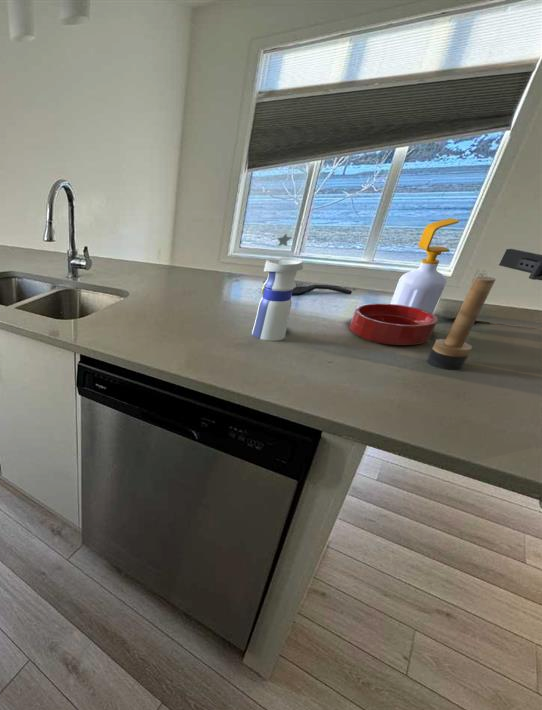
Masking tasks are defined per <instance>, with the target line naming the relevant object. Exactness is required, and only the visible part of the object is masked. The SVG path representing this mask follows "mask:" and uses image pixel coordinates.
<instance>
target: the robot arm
mask: <svg viewBox="0 0 542 710" xmlns="http://www.w3.org/2000/svg"><path fill="white" fill-rule="evenodd" d="M498 266H499V267H504V268H508V269H512V270H517V271H520V272H523V273H529V276H528V279H529V280H533V281H542V254H538V253H534V252H529V251H524V250H519V249H515V248H507V249H506V250H505V251H504V254H503V256H502V258H501V259H500V262H499V263H498Z"/></svg>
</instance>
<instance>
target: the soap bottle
mask: <svg viewBox="0 0 542 710" xmlns="http://www.w3.org/2000/svg"><path fill="white" fill-rule="evenodd" d="M459 222H460V220H458V219H456V218H451V217H449V218H445V219H442V220H437V221H434V222H431V223H429V224H427V225H426V226H425V227H424V229H423V232H422V234H421V236H420V239H419V242H418V245H417V246H418V248H419V249H421V250H423V251H425V254H426V255H427V257H426V258H423V259H421V261H420V264H419V267H417V268H416V269H413V270H410V271H408V272H406V273H403V274H402V276H401V277H400V278H399V280H398V281H397V285H396V286H395V287H396V288H395V290H394V292H393V295H392V298H391V301H390V303H389V304H397V305H404V306H410V307H414V308H418V309H422V310H425V311H427V312H430V313H432V314H433V315H434V311H435V309H436V307H437V305H438V303H439V300H440V298H441V296H442V294H443V291H444V289H445V287H446V284H447V278H446V277H445V275H444V274H442V273H441V272H439V271H438V270H437V268H438V266H439V263H440V260H439V259H437V257H438V256H441V255H442V253H449V252H451V249H449V248H447V247H445V246H431V243H432V241H433V238H434V236H435V234H436V232H437V231H438V230H440V229H442V228H444V227H449V226H452V225H456V224H459Z"/></svg>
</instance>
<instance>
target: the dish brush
mask: <svg viewBox="0 0 542 710" xmlns="http://www.w3.org/2000/svg"><path fill="white" fill-rule="evenodd" d="M495 282H496V278H495V277H491V276H485V275H484V276H482V275H481V276H479V275H478V276H475V277H474V279H473V281H472V283H471V285H470V288H469V290H468V292H467V294H466V296H465V297H464V300H463V302H462V305H461V307H460V309H459V311H458V313H457V314H456V317H455V319H454V321H453V324H452V325H451V327H450V330H449V332H448V334H447V337H446V338H440V339H436V340H435V341H434V343H433V345H432V348H431V350H430V353H429V355H428V357H427V359H426V362H427V363H428V364H429V365H431V366H432V367H436V368H439V369H443V370H450V371H451V370H452V371H453V370H455V371H456V370H457V371H458V370H461V369H462V368H463V366H464V364H465V363H466V361H467V358H468V357H469V355H470V353H471V351H472V348H473V346H472V345H471V344H469V343H467V342H466V340H467V338H468V336H469V335H470V332H471V331H472V328H473V326H474V325H475V323H476V320H477V319H478V316H479V314H480V313H481V310H482V308H483V307H484V304H485V302H486V300H487V299H488V296H489V294H490V292H491V290H492V288H493V286H494V284H495Z"/></svg>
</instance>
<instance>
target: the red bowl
mask: <svg viewBox="0 0 542 710" xmlns="http://www.w3.org/2000/svg"><path fill="white" fill-rule="evenodd" d="M438 321H439V319H438V316H436V315H435V314H434V313H433V314H432V313H430V312H427V311H425V310H422V309H418V308H414V307H410V306H404V305H397V304H390V303H384V302H383V303H382V302H381V303H377V302H375V303H365V304H360V305H359V306H357V307H356V308H355V309H354V311H353V314H352V318H351V320H350V324H349V330H350V331H351V332H352V334H355V335H356V336H359V337H361V338H363V339H365V340H368V341H371V342H374V343H378V344H383V345H391V346H411V345H413V346H414V345H421V344H423V343H424V344H425V343H427V342H428V341H429V340H430V339H431V337H432V335H433V332H434V330H435V328H436V325H437V324H438Z"/></svg>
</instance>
